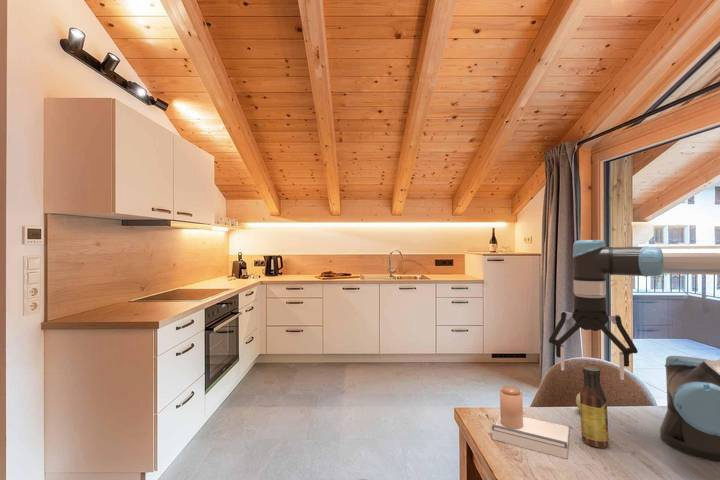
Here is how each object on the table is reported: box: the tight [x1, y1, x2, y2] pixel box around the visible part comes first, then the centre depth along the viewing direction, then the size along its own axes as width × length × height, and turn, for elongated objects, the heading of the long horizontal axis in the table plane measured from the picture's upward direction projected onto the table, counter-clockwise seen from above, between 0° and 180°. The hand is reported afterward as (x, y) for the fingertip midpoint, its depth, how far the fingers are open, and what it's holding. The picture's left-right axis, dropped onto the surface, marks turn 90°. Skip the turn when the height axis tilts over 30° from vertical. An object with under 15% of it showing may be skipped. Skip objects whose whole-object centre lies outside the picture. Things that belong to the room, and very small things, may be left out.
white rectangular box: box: [491, 415, 570, 459], centre depth 100 cm, size 18×13×4 cm
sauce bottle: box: [579, 366, 610, 449], centre depth 97 cm, size 6×6×20 cm
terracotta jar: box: [499, 385, 524, 429], centre depth 102 cm, size 6×6×10 cm
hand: (591, 373), depth 97 cm, fingers open, 13 cm apart
